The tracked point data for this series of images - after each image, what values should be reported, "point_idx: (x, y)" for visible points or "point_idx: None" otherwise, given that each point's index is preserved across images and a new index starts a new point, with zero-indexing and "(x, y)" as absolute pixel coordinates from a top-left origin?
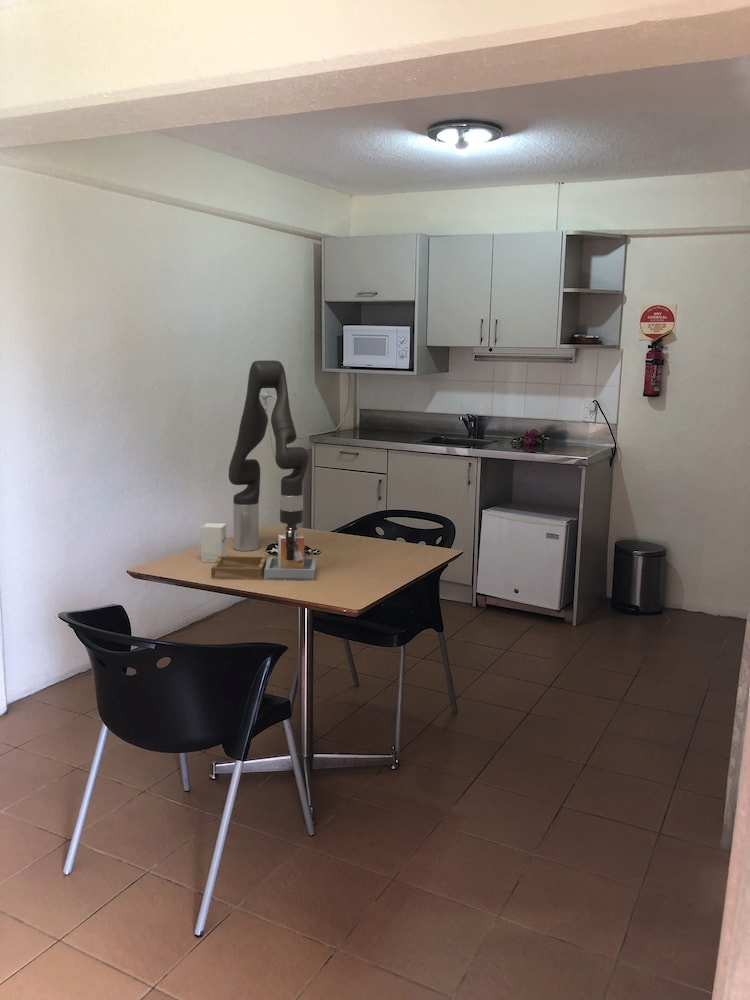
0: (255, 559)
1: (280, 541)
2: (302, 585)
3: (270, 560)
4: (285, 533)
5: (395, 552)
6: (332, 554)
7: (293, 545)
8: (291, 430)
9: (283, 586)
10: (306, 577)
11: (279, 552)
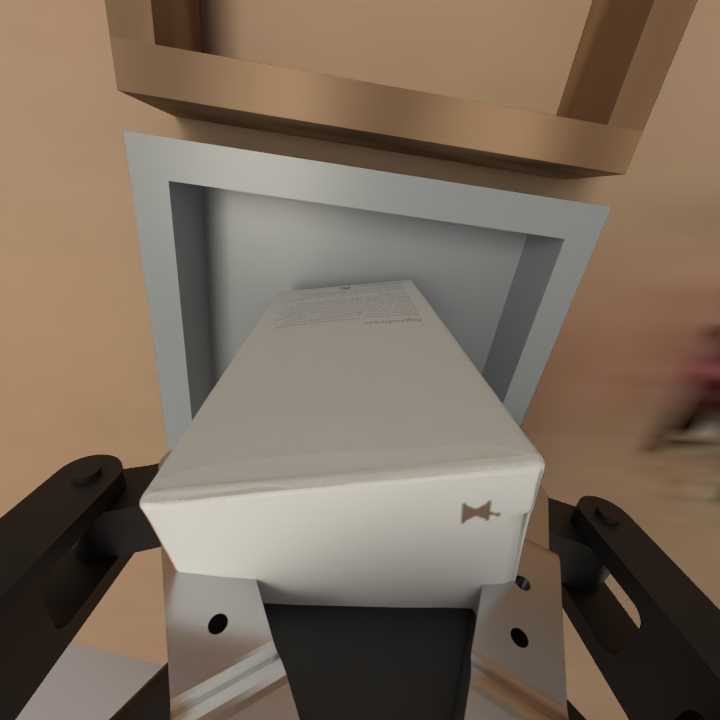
0: (626, 37)
1: (196, 438)
2: (93, 398)
3: (473, 215)
4: (217, 685)
5: (608, 694)
6: (688, 548)
7: (62, 572)
8: None
9: (34, 288)
10: None
11: (304, 333)
